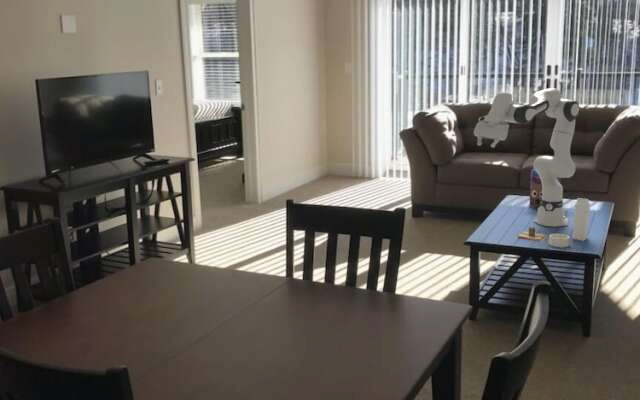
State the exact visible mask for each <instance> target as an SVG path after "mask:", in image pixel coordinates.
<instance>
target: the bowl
mask: <svg viewBox="0 0 640 400" xmlns="http://www.w3.org/2000/svg"><path fill="white" fill-rule="evenodd" d="M570 241H571V236H569V235H567V234H562V233H551V234H549V235H548V245H550V246H551V247H555V248H567V247H569V246H570Z"/></svg>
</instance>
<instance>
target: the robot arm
mask: <svg viewBox="0 0 640 400" xmlns="http://www.w3.org/2000/svg"><path fill="white" fill-rule="evenodd" d="M512 97H513V95H512V93H510V92H505V91H499V92H497V94H496V95H495V96H494V98H493V100H492V103H491V107H490V111H488V114H487V115H484V116H480V117H479V118H478V122H477V123H476V125H475V126H474V129H473V135H474V136H475V137H477V143H476V145H477V146H482V144H483V142H482V140H483V139H488V140H489V139H490V140H494V141H493V142H491V144H490V147H491V148H493V149H494V148H495V147H496V146H497V144H498V143H499V142H500V141H505V140H507V137H508V133H509V128H510V124H509V123H513V124H519V125H524V126H526V125H528V124H529V123H530V122H531V121H533V119H535V118H536V117H537V116H540V115H543V116H545V117H547V118H552V119H556V122H555V125H554V126H553V127H554V128H553V131H552V133H551V139H550V142H549V146H550V147H551V149H553V152H554V156H553V155H552V156H551V155H539V156H537V157H536V158H535V159H534V161H533V169H535V171H536V172H537V173H538V175H539V177H540V179H541V182H542V199H541V207H539V208H537V215H536V219H534V220H533V222H534V223H536V224H538V225H541V226H545V227H565V226H568V223H569V218H567V217H566V216H565V209H564V200H563V193H564V192H563V191H564V187H563V185H562V183H561V184H560V183H559V182H558V180H557V177H560V178H561V179H565V178H572V176H574V174H575V172H576V163H575V162H574V161H573V159H572V157H571V145H572V141H573V137H574V134H575V129H576V118H577V117H578V115H579V114H580V111H581V109H580V105H579V102H578V101H576V100H574V99H567V98H562V93H561V91H560V90H558V89H557V88H555V87H552V88H551V87H550V88H549V87H548V88H545V89H541V90H539V91H538V90H537V91H536V92H535V93H533V94H531V96H530V98H529V104H515V103H514V101H513V98H512Z"/></svg>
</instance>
